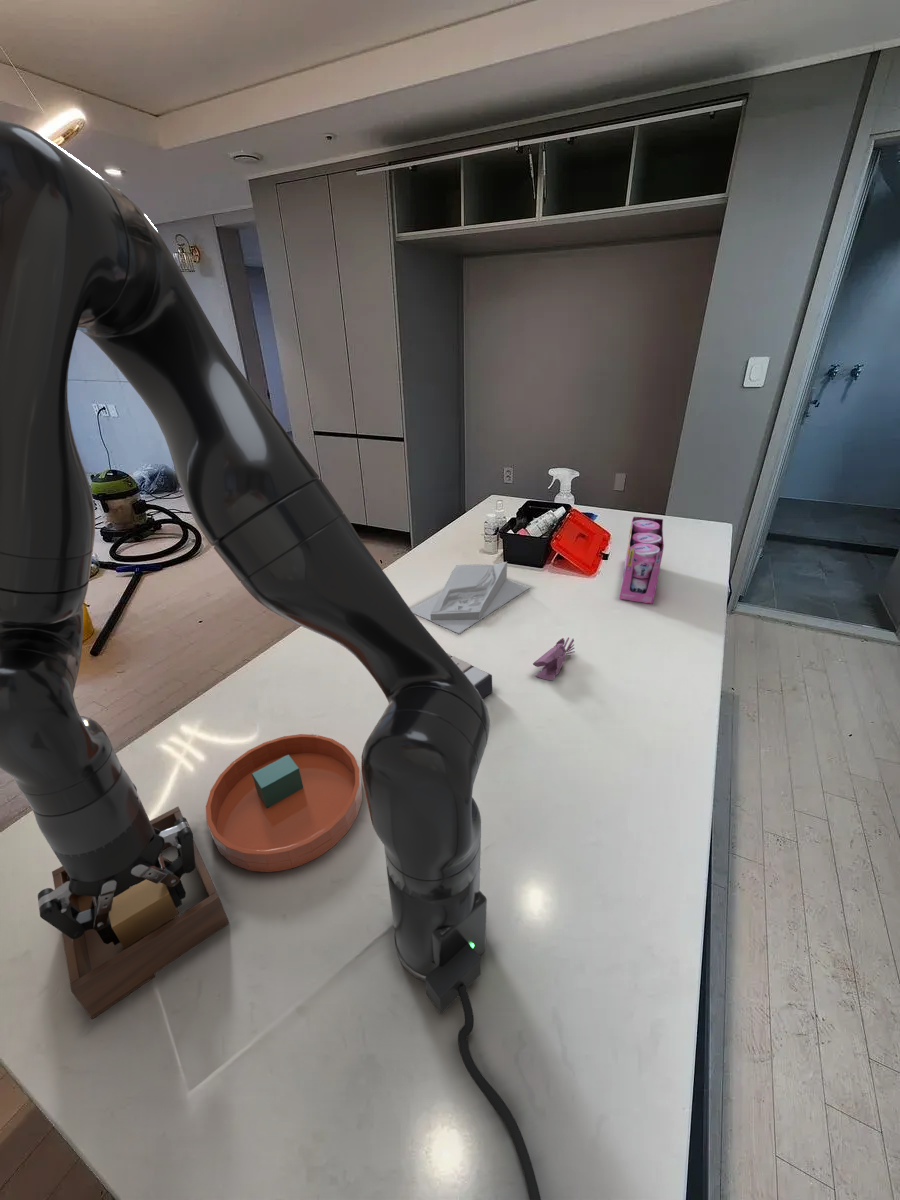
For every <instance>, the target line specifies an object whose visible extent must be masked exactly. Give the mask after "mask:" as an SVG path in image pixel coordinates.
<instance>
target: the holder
mask: <svg viewBox="0 0 900 1200" xmlns="http://www.w3.org/2000/svg"><path fill="white" fill-rule="evenodd" d="M182 817H184V815H183V813H182V811H181V809H180V807H179V806H176V807H174V808H172V809H169V810H168V811H166V812H164V813H162V814H160V815H158V816H157V817H154V818H153V819H150V822H151V824H152V826H153V827H154V828H156V829H159V830H160V831H164V830H166V829H169V828H171V827H174V826H175V821H176V820H177V819H179V818H182ZM193 842H194V855H195V869H196V870H197V872H198V875H199V878H200V880H201V882H202V884H203V887H204V889H205V891H206V893H207V895H208V897H206V898H204V899H203V900H201V901H199V902H198V903H197V904H195V905H193V906H192V907H190V908H189V909H187V910H185V911H184V912H183V913H181V914H179V915H177V916H176V917H174V918H173V919H171V920H169V921H168V922H166V923H165V924H163V925H161V926H160V927H158V928H157V929H155V930H153V931H152V932H150V933H149V934H147V935H145V936H144V937H142V938H141V939H139V940H137V941H136V942H134V943H133V944H131V945H129V946H128V947H126V948H124V947H123V946H122V944H121V942H120V943H118V944H116V945H114V944H113V942H111V943H109V944H105V943H104V942H103V941H102V939H101V938H100V936H99V934H98V933H97V931H96V930H94V929H90V930H87V931H85V933H84V934H83V935H82V936H81V937H79V938H77V939H71V938H70V937H68V936H67V935H65V934H64V933H62V932H61V936H62V942H63V949H64V955H65V960H66V967H67V973H68V979H69V986H70V992H71V993H72V994H73V996H74V997H75V998H76V1000H77V1001H78V1002H79V1003H80V1005H81V1007H82V1008H83V1009H84V1011H86V1013H87V1015H88V1016H89V1017H90V1019H92V1020H93V1019H95V1018H96V1017H97V1016H99V1015H100V1014H102V1013H104V1012H105V1011H106V1010H108V1009H110V1008H111V1007H112V1006H114V1005H116V1004H117V1003H119V1002H120V1001H122V1000H123V999H124V998H127V996H129V995H130V994H131V993H133V992H134V991H136V990H138V989H139V988H141V987H142V986H143V985H145V984H146V983H148V982H150V981H151V980H152V979H153V978H155V977H156V973H158V972H159V971H160V970H162V969H164V968H165V967H166V966H168V965H169V964H171V963H172V962H174V961H175V960H177V959H178V958H180V957H181V956H183V955H184V954H186V953H187V952H188V951H190V950H191V949H193V948H194V947H196V946H197V945H199V944H200V943H202V942H204V941H205V940H207V939H208V938H209V937H211V936H212V935H214V934H216V933H217V932H218V931H220V930H221V929H223V928H224V927H226V926H227V925H228V924H230V920H229V919H228V916H227V913H226V911H225V908H224V906H223V903H222V900H221V898H220V895H219V893H218V891H217V889H216V887H215V885H214V883H213V879H212V878H211V876H210V874H209V871H208V869H207V867H206V865H205V862H204V861H203V858H202V856H201V853H200V851H199V849H198V847H197V845H196V842H195V840H194V839H193ZM169 847H172V845H171V844H170V843H165V844H164V847H163V849H162V851H164V850H166V849H168V848H169ZM51 875H52V880H53V881H52V882H53V886H54V887H53V888H54V890H55V889H56V888H58V887H59V886H61V885H62V884H64V883H65V882H67V877H68V874H67V872H66V871H65V869H64V867H63V866H62V865H61V866H60V867H58V868H56V869H54V870H52V871H51ZM129 888H130V887H129ZM129 888H128V889H129ZM128 889H127V890H128ZM125 891H126V890H125ZM113 898H114V897H113ZM70 902H71V904H73V905H74V906H75V907H77V908H78V909H79V910H81V912H83V911H86V910H89V909H90V904H91V896H84V895H75V894H71V896H70Z"/></svg>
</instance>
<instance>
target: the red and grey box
mask: <svg viewBox="0 0 900 1200" xmlns="http://www.w3.org/2000/svg"><path fill="white" fill-rule="evenodd" d="M446 653H447V654H448V655H449V656H450V658H451V659H452V660H453V661H454V662H455V663H456V665H457V666H458V667H459V668H460V669H461V670H462V672H463V673H464V674H465V675H466V676H467V678H468V679H469V680H470V681H471V683H472V684H473V685H474V686H475V688H476V689H477V691H478V692H479V694H480V695H481V697H482V699H483V700H484V698H485V697H488V695H490V694H491V693H492V692H493V674H491V673H489V672H487V671H484V670H483V669H480V668H478V667H476V666H474V665H472V664H471V663H470V662H467V661H465V660H463V659H461V658H458V657H456V656H453V655H451V654H450V653H448V652H446Z"/></svg>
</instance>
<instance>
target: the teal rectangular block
mask: <svg viewBox="0 0 900 1200" xmlns="http://www.w3.org/2000/svg"><path fill="white" fill-rule="evenodd" d="M252 776H253V780H254V783H255V787H256V790H257V793H258V795H259V796H260V798H261V800H262V801H263V803H264V804H265V806H266V808H269V807H270V806H272V805H274V804H276V803H277V802H279V801H281V800H283V799H284V798H286V797H288V796H290V795H291V794H293V793H295V792H297V791H298V790H300V789H302V788H303V784H302V779H301V775H300V771H299V768H298V766H297V765H296V764H295V762H294V761H293V760H292V758H291V757H290V756H289V755H286V756H285V757H283V758H281V759H279V760H277V761H275V762H273V763H271V764H269V765H267V766H265V767H264V768H262V769H260V770H258V771H256V772H254V773H252Z"/></svg>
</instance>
